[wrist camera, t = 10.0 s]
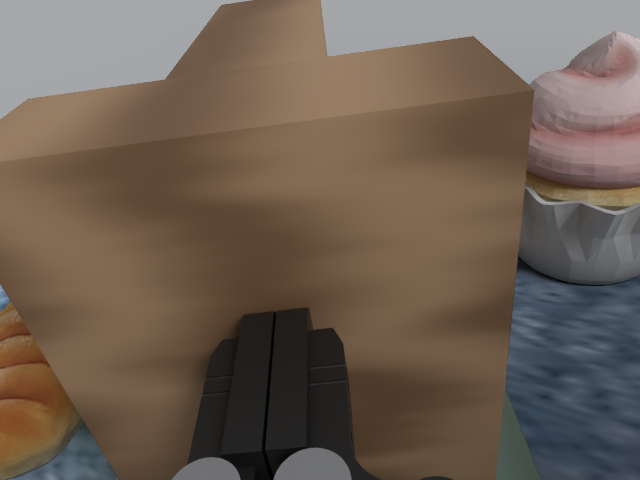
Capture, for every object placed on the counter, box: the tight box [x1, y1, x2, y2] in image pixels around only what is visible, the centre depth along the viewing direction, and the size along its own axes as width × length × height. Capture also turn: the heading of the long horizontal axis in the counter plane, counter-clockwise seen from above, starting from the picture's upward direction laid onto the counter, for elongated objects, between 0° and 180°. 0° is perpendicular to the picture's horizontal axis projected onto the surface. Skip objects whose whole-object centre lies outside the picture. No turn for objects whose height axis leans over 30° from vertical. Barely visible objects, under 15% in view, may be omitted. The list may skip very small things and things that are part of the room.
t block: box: [0, 0, 534, 480], centre depth 18 cm, size 11×14×12 cm
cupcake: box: [518, 31, 640, 285], centre depth 22 cm, size 9×9×10 cm
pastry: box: [0, 302, 85, 480], centre depth 21 cm, size 9×7×4 cm
